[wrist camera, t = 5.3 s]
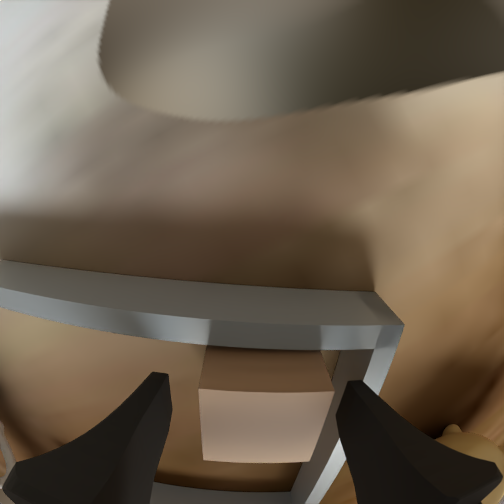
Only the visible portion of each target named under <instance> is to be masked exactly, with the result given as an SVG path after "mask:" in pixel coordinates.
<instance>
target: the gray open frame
mask: <svg viewBox="0 0 504 504" xmlns="http://www.w3.org/2000/svg"><path fill="white" fill-rule="evenodd" d="M0 307H1V308H5V309H8V310H12V311H16V312H19V313H23V314H27V315H31V316H35V317H39V318H43V319H47V320H52V321H56V322H60V323H65V324H70V325H74V326H79V327H84V328H90V329H95V330H100V331H106V332H112V333H118V334H124V335H130V336H137V337H144V338H151V339H158V340H166V341H174V342H183V343H193V344H203V345H214V346H227V347H242V348H260V349H286V350H341V351H340V354H339V358H338V362H337V365H336V368H335V372H334V375H333V379H332V385H333V387H334V390H335V392H334V395H333V399H332V402H331V405H330V408H329V410H328V413H327V416H326V419H325V422H324V425H323V428H322V430H321V433H320V436H319V438H318V441H317V444H316V446H315V449H314V451H313V454H312V456H311V459H310V461H307V462H303V463H302V466H301V468H300V471H299V473H298V475H297V478H296V480H295V482H294V485H293V487H292V489H291V491H290V492H231V491H216V490H205V489H196V488H188V487H181V486H174V485H168V484H162V483H157V482H153V487H152V493H151V499H150V504H319V502H320V501H321V499H322V498H323V496H324V495H325V493H326V492H327V490H328V489H329V487H330V486H331V484H332V482H333V481H334V479H335V477H336V476H337V474H338V472H339V471H340V469H341V467H342V466H343V464H344V462H345V460H346V456H345V453H344V450H343V447H342V444H341V441H340V438H339V434H338V428H337V422H336V416H335V414H336V412H337V409H338V407H339V404H340V401H341V398H342V396H343V393H344V390H345V387H346V384H347V381H354V380H362V381H363V382H364V383H365V384H367V385H368V386H369V387H370V388H371V389H372V390H373V391H374V392H375V393H376V394H377V395H378V394H379V392H380V390H381V387H382V385H383V383H384V380H385V378H386V375H387V373H388V370H389V368H390V365H391V362H392V360H393V357H394V354H395V352H396V349H397V346H398V343H399V340H400V337H401V334H402V331H403V328H404V323H403V322H402V321H401V320H400V319H399V318H398V317H397V315H396V314H395V313H394V312H393V311H392V310H391V309H390V308H389V307H388V305H387V304H386V303H385V302H384V301H383V300H382V299H381V298H380V297H379V296H378V295H377V293H376V292H363V291H337V290H315V289H296V288H278V287H262V286H247V285H233V284H219V283H206V282H194V281H182V280H171V279H160V278H150V277H139V276H130V275H120V274H111V273H102V272H93V271H84V270H76V269H68V268H60V267H52V266H44V265H37V264H29V263H22V262H15V261H8V260H1V261H0Z"/></svg>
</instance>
